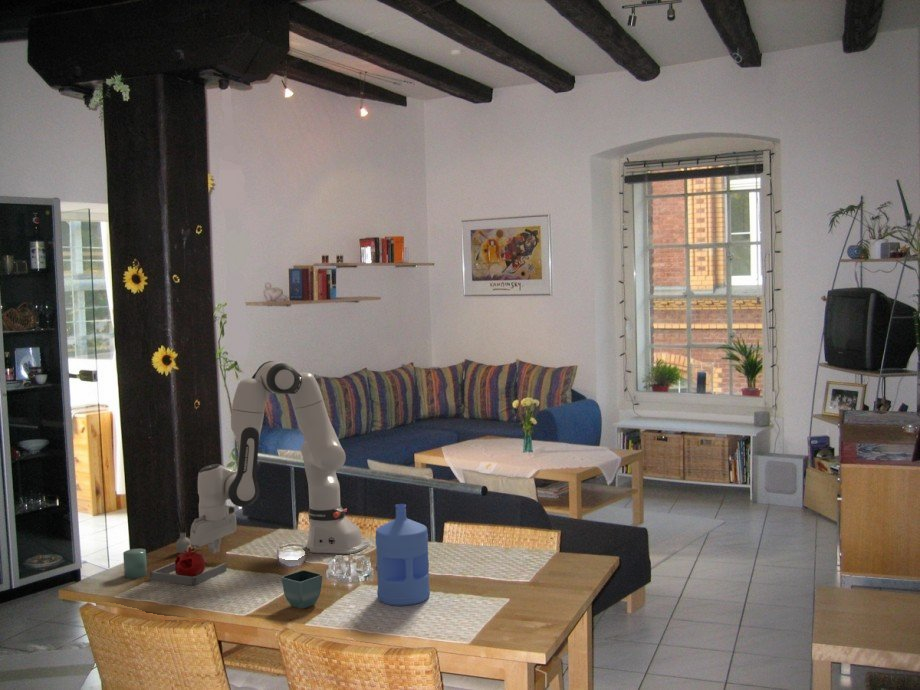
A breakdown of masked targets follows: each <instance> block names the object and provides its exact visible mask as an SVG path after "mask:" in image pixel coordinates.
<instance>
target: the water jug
mask: <svg viewBox="0 0 920 690" xmlns="http://www.w3.org/2000/svg"><path fill="white" fill-rule="evenodd" d="M406 508H407V504H405V503H397V504H395V518H394V519H391V520H390V521H389V522H386V523H383V525H380V526H379V527H377V528H376V530H375V548H376V552H375V553H376V573H377V575H376V576H377V577H376V578H377V591H376V593H377V598H378V600H379V601H380V602H381V603H383V604H386V605H388V606H389V605H390V606H393V607H394V606H395V607H396V606H397V607H405V606H406V607H407V606H412V605H417V604H421V603H423V602H425V601H426V600H428V599H429V597H430V595H431V589H430V571H429V569H430V564H429V534H428V528H427V526H426V525H424V524H422V523H420V522H418V521H414V520H413V519H410V518H408V517H407V509H406Z"/></svg>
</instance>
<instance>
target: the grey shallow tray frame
mask: <svg viewBox="0 0 920 690" xmlns="http://www.w3.org/2000/svg"><path fill="white" fill-rule="evenodd" d="M227 567H228V566H227V563H225V562H223V563H221V564H219V565H217V566H215V567H212V568H210V569H207V570H206V571H205V570H204V571H203V572H202V573H201V574H199V575H197V576H194V577H190V576H183V575H177V574H176V573H175V574H174V573H173V572H175V561H174V562H172V563H169V564H167V565H163V566H162V567H159V568H156V569H154V570H151V571H150V572H149V580H150V581H154V582H155V581H156V582H162V583H163V582H164V583H168V584H169V583H171V584H176V585H177V584H178V585H184V586H191V587H192V586H193V587H195V586H197V585H199V584H201V583H204V582H205V581H208V580H210V579H212V578H215V577H216V576H219V575H221V574H223V573H224V572H227V569H228V568H227Z"/></svg>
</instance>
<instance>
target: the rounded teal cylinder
mask: <svg viewBox="0 0 920 690" xmlns="http://www.w3.org/2000/svg"><path fill="white" fill-rule="evenodd" d="M122 555H123V571H124V572H123V573H124V575H123V576H124V578H125V579H126V580H135V579H141V578H144V577H147V575H148V569H147V568H148V567H147V550H146V549H145V548H131V549H128V550H127V549H126V550H125V551H123V553H122Z"/></svg>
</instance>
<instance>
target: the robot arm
mask: <svg viewBox="0 0 920 690" xmlns="http://www.w3.org/2000/svg"><path fill="white" fill-rule="evenodd" d="M272 394H277V395H287V396H288V397H289V399H290V401H291V405H292V409H293V412H294V416H295V419H296V422H297V426H298V429H299V431H300V432H301V433H302V436H303V438H304V441H303V443H302V444H301V447H300V449H301V450H300V453H301V456H302V460H303V465H304V471H305V475H306V480H307V485H308V502H309V507H308V511H307V513H308V521H309V527H308V538H307V542H306V546H305V547H306V548H307V549H308V550H309V553H314V554H315V553H316V554H317V553H318V554H319V553H320V554H338V555H339V554H341V555H342V554H343V555H351V554H355V553H358V552H360V551H363V550H365V549H367V547H368V546H369V544H370V543H369V541H368V540H364V539H363V535H362V531H361V528H360V527H359V526H357V525H356V524H355V523H354V522H353V521H351V520H350V519H349V518H347V516H346V512H347V511H348V510H347V509H348V508H346V507H345V508H343V506H342V505H341V488H340V486H341V485H340V481H339V480H338V476H337V471H339V470H341V469H342V467H343V466H344V465H345V463H346V457H347V456H346V451H345V450H344V449H343V447H342V444H341V443H340V439H339V438H338V436H337V433H336V431H335V429H334V427H333V425H332V422H331V420H330V418H329V414H328V411H327V406H326V404H325V400H324V397H323V393H322V392H321V388H320V386H319V383H318V382H317V379H316V378H315V376H314V375H313V374H312V373H310V372H307V371H301V372H298V371H297V370H296V369H295V368H294V367H293V366H292V365H290V364H288V363H285V362H283V361H279V360H278V361H277V360H276V361H273V360H269V361H265V362H264V363H262V364H260V366H259V367H258V368H257V370H256V371H255V373H254V374H253V375H252V376H251V378H245V379H243V380H240V381H239V382H238V384H237V387H236V389H235V393H234V396H233V400H232V405H231V412H230V427H231V428H230V429H231V430H232V432H233V434H234V436H235V439H236V441H237V442H236V443H237V445H238V455H237V456H238V457H237V466H236V467H237V468H236V470H234V469H230V468H228V467H226V466H223V465H222V464H220V463H213V464H208V465H205V466H203V467H202V468H201V469H200V470H199V472H198V474H197V494H198V499H199V502H198V518H194V520H193V522H192V523H191V527H190V532H189V533H190V534H189V535H190V537H189V539H190V544H191V545H192V546H194V547H196V548H202V546H207V547H208V549H209V553H210V555H212V554H213V555H214V554H216V553H218V552H220V546H221V543H222V538H224V537H227V536H228V535H231V534H233V533H235V532H236V530H237V515H236V514H235V513H236V510H237V509H236V507H240V508H241V507H242V508H245V507H249V506H252V505H253V504H254V503H255V502H256V501H257V500H258V498H259V495H260V486H259V483H258V478H257V468H258V459H259V458H258V456H259V446H260V445H259V444H260V439H261V434H262V433H261V432H262V428H263V423H264V417H265V411H266V410H265V409H266V403H267V400H268V398H269V396H271V395H272ZM227 500H230V501H231V503H232V504H233V505H234V506H233V505H228V504H226V501H227ZM235 506H236V507H235Z"/></svg>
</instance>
